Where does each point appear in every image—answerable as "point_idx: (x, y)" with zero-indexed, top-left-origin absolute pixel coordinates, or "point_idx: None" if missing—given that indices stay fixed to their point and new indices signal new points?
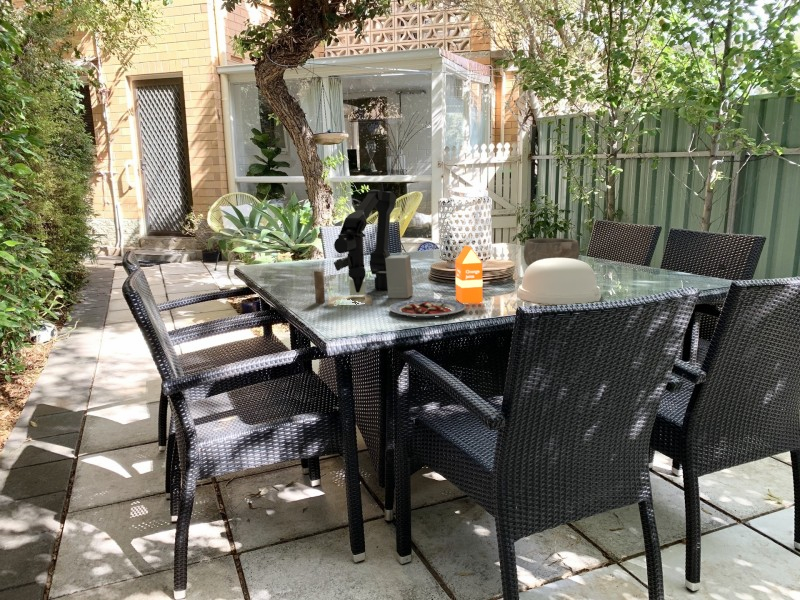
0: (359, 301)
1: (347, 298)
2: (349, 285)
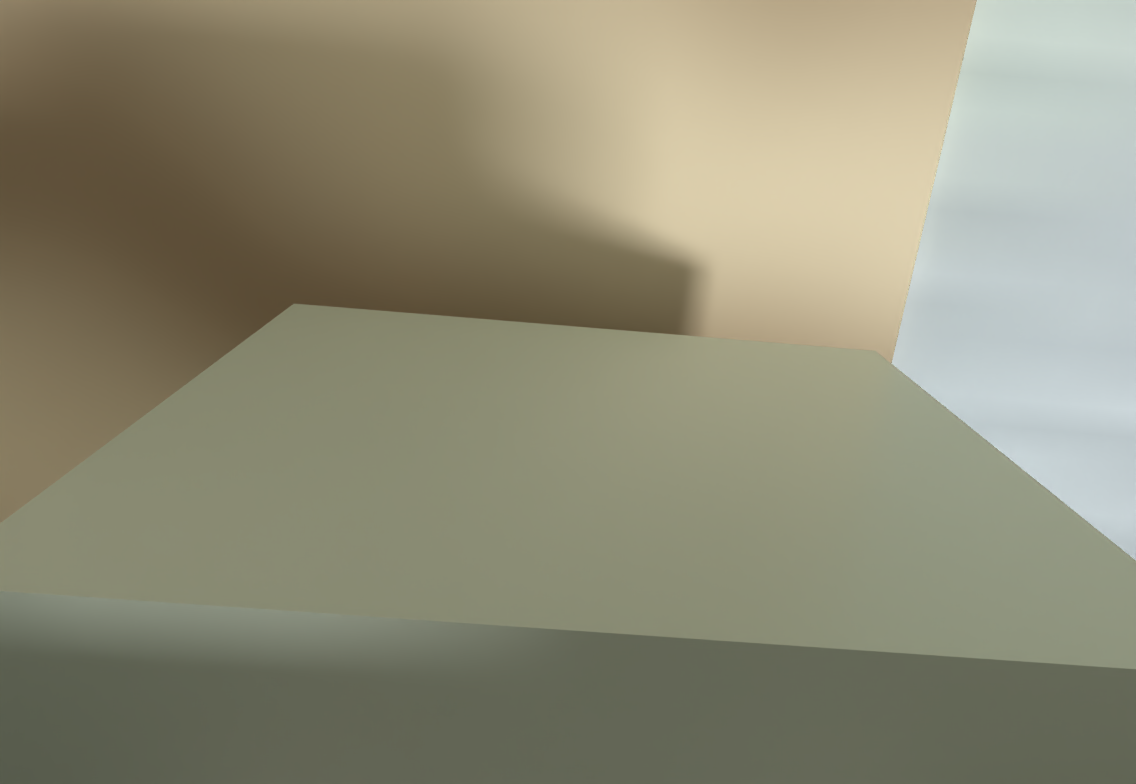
0: (15, 500)
1: (536, 208)
2: (85, 468)
